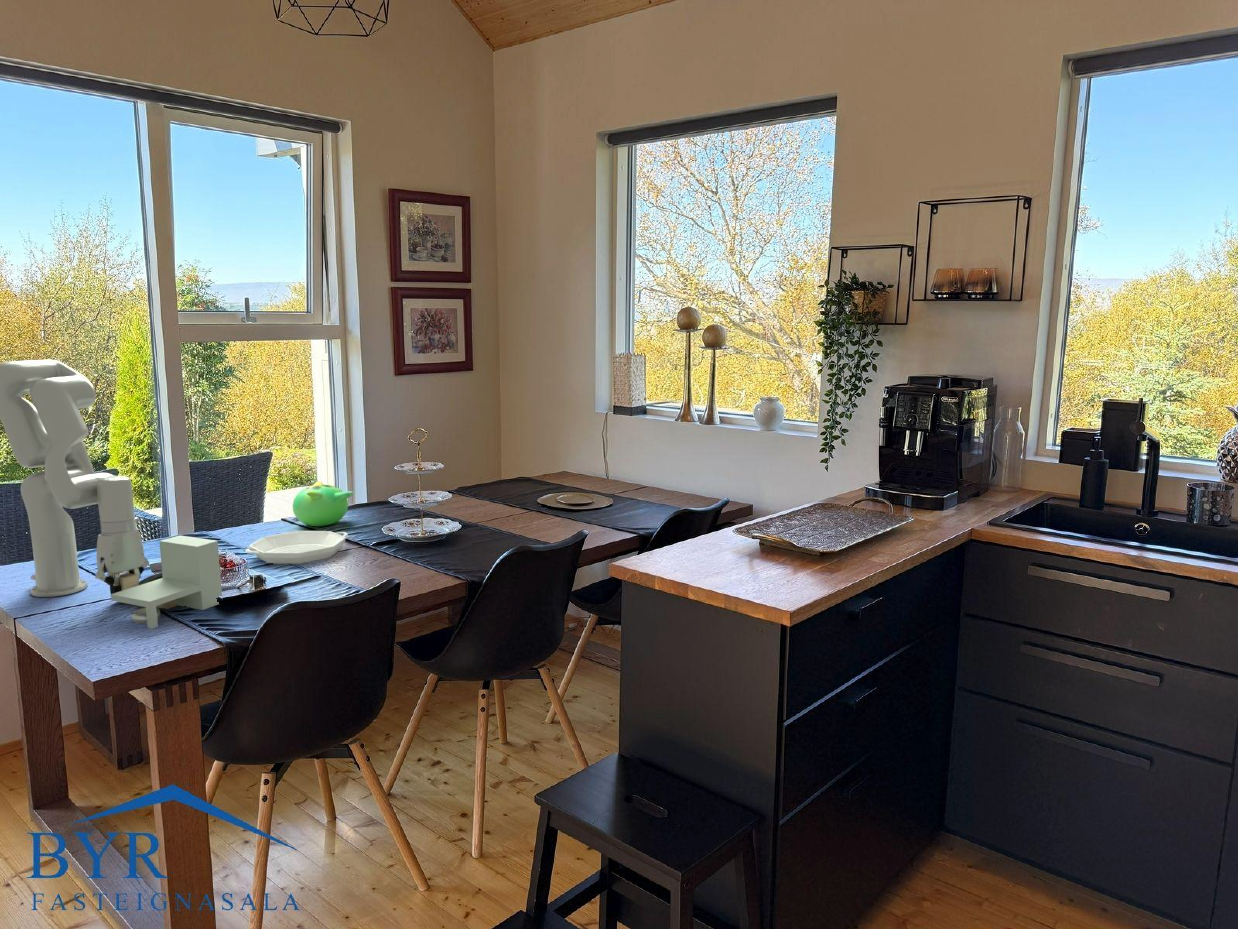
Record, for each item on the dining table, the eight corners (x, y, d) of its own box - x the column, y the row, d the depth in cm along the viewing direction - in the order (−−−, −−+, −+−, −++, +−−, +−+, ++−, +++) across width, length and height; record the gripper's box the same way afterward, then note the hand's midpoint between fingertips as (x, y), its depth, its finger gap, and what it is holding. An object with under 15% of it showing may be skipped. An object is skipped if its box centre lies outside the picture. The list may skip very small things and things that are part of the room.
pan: (329, 538, 284) (328, 525, 283) (366, 554, 266) (366, 540, 265) (230, 556, 263) (229, 542, 262) (264, 574, 245) (262, 559, 244)
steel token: (126, 622, 207) (125, 614, 207) (148, 614, 213) (148, 606, 212) (144, 626, 205) (143, 617, 205) (166, 617, 210) (165, 609, 210)
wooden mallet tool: (111, 599, 220) (109, 576, 219) (126, 595, 223) (123, 572, 222) (165, 609, 212) (163, 585, 211) (179, 604, 216) (177, 581, 215)
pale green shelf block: (113, 620, 208) (106, 555, 205) (185, 596, 226) (180, 535, 223) (152, 628, 202) (145, 561, 200) (222, 602, 220) (217, 540, 218)
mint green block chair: (129, 574, 235) (218, 550, 255) (131, 587, 236) (220, 562, 256) (143, 580, 231) (233, 555, 250) (145, 593, 231) (235, 567, 251)
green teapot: (338, 517, 312) (335, 476, 309) (358, 525, 299) (355, 483, 297) (287, 524, 300) (284, 482, 298) (305, 534, 288) (303, 490, 285)
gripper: (138, 517, 226) (145, 586, 230) (75, 532, 211) (84, 605, 214) (158, 520, 223) (165, 589, 227) (96, 535, 208) (105, 609, 211)
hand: (125, 596), depth 220 cm, fingers closed on wooden mallet tool, 4 cm apart
